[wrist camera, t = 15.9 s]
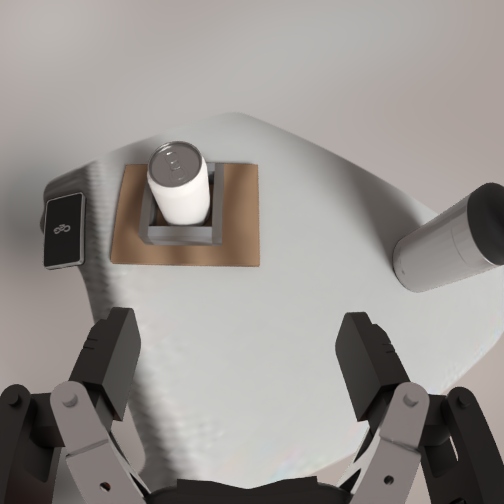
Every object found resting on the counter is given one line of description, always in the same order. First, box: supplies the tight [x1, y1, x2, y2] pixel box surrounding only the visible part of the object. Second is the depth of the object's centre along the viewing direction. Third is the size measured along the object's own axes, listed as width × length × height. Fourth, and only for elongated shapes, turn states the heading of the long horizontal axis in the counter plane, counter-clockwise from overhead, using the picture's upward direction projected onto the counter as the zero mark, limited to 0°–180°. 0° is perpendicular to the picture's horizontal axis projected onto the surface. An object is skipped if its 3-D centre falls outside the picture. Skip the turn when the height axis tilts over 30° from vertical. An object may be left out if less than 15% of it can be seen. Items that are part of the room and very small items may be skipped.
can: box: [147, 141, 210, 227], centre depth 34 cm, size 6×6×12 cm
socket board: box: [111, 163, 260, 267], centre depth 39 cm, size 20×15×5 cm
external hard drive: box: [43, 192, 86, 270], centre depth 38 cm, size 7×11×2 cm, turn 10°
